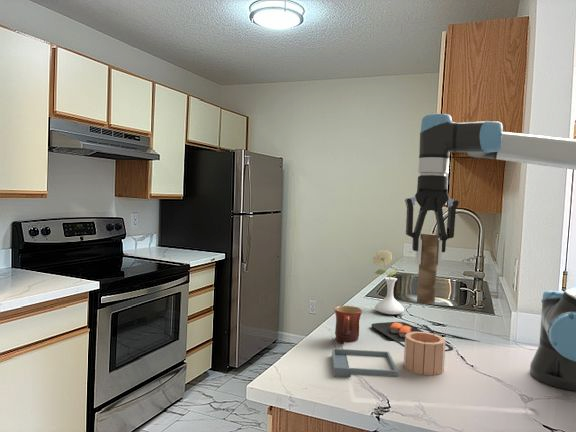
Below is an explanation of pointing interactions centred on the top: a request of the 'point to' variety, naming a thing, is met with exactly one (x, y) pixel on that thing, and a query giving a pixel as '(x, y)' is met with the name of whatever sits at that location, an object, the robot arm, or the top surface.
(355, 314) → the mug
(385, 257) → the flower in vase
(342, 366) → the tray
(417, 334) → the cup
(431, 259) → the peg
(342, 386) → the top surface
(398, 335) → the sushi plate
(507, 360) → the top surface
